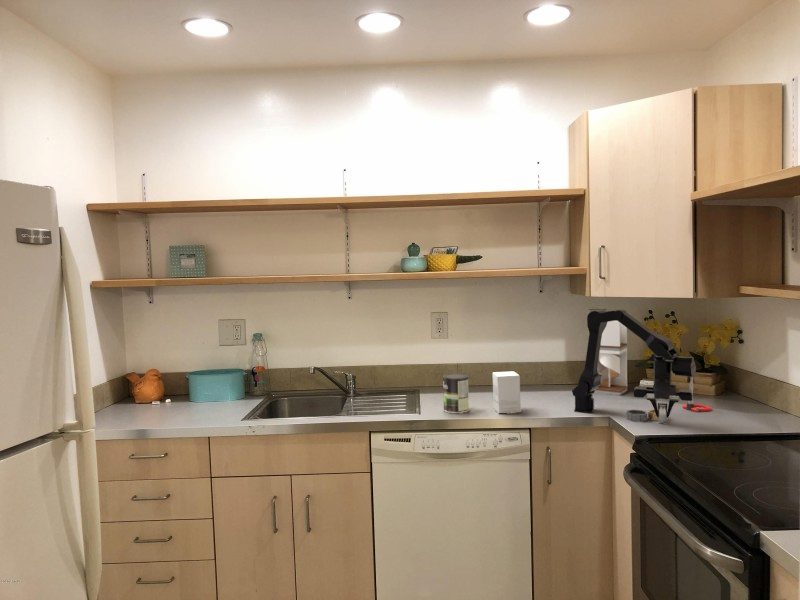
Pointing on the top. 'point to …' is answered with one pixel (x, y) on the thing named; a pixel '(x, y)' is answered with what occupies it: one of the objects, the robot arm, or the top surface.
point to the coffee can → (455, 393)
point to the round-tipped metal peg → (662, 412)
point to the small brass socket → (652, 415)
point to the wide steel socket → (636, 415)
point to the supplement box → (506, 392)
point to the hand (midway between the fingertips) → (662, 417)
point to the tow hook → (691, 406)
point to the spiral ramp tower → (613, 359)
